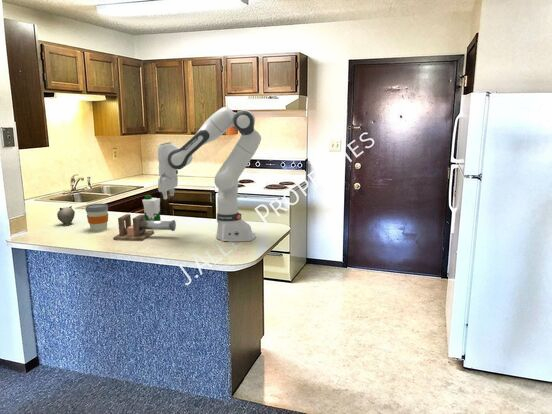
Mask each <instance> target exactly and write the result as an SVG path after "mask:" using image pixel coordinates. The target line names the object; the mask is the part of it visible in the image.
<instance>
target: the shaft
mask: <svg viewBox="0 0 552 414" xmlns="http://www.w3.org/2000/svg"><path fill="white" fill-rule="evenodd" d="M176 226H177V223H176V220H175V219H174V220H171V221H170V220H161V221H144V220H140V221H139V229H146V230H148V231H158V230H159V231H161V230H162V231H171V232H175V230H176V229H177V227H176Z"/></svg>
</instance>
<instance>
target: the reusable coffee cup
mask: <svg viewBox="0 0 552 414" xmlns="http://www.w3.org/2000/svg"><path fill="white" fill-rule="evenodd" d="M108 206H109V205H108V204H107V203H93V204H88V205H85V212H86V218H87V222H88V224H89V228H90V231H91V232H93V233H95V232H96V233H97V232H98V233H101V232H105V231H107V230H108V222H109V213H108V212H109V211H108V210H109V207H108Z"/></svg>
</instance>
